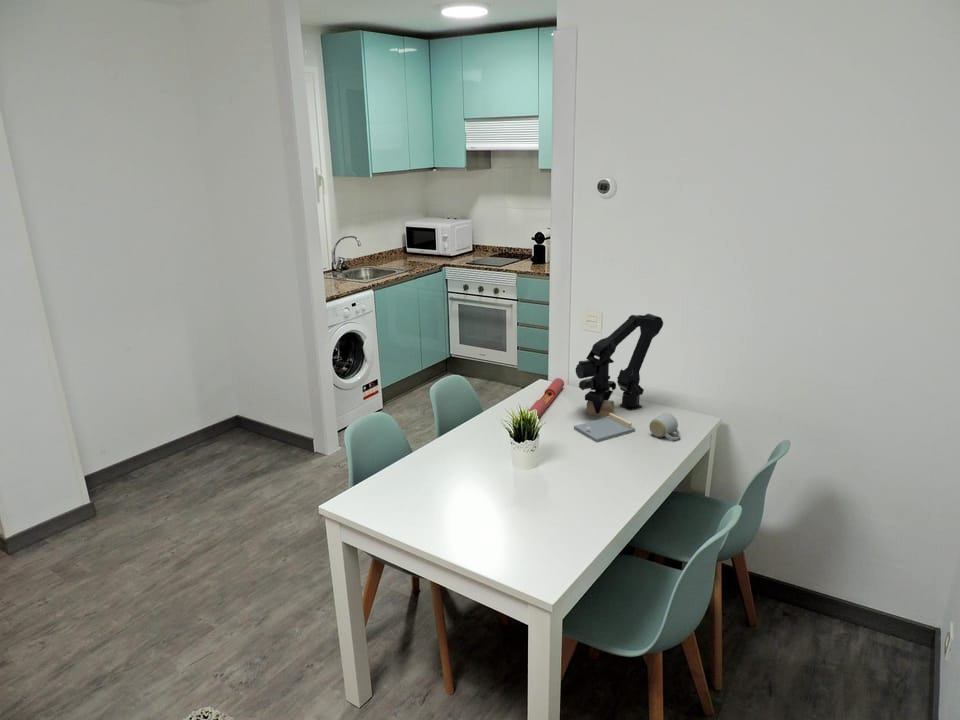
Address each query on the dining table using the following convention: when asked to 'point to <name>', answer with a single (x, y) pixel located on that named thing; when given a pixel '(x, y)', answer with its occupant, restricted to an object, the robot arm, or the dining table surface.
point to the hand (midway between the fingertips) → (600, 410)
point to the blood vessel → (548, 396)
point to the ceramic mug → (664, 426)
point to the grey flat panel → (605, 428)
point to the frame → (605, 409)
